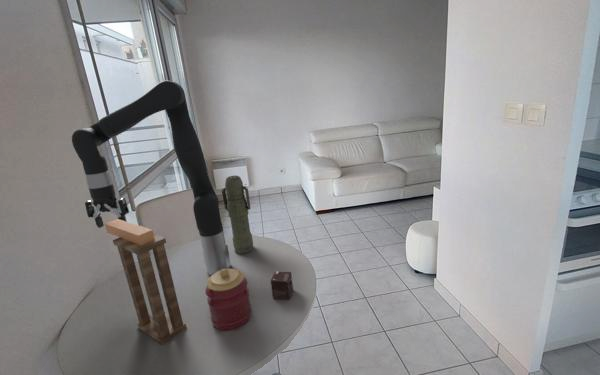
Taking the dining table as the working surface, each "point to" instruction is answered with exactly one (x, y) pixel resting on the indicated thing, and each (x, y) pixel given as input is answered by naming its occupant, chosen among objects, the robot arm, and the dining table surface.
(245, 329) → the dining table surface
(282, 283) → the box
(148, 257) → the walnut shelf stand
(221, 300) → the canister
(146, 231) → the terracotta bar
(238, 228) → the thermos
